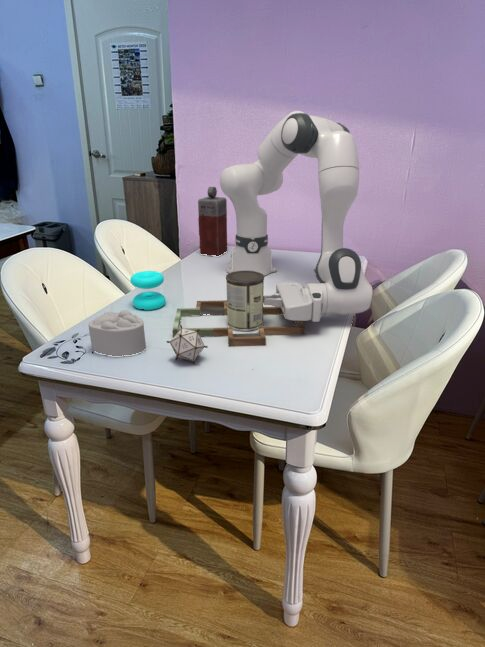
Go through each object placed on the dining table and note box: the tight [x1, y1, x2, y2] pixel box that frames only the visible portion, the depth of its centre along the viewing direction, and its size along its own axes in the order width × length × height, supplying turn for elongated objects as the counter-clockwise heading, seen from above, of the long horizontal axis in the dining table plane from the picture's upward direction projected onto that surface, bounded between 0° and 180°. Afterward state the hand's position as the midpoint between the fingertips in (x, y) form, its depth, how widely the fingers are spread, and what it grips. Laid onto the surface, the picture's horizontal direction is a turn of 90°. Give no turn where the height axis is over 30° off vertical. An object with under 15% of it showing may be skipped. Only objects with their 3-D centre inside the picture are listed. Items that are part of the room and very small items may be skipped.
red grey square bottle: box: [197, 186, 228, 256], centre depth 191 cm, size 9×11×28 cm
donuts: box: [129, 270, 167, 311], centre depth 138 cm, size 10×10×10 cm
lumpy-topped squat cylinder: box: [88, 309, 147, 356], centre depth 112 cm, size 10×13×9 cm
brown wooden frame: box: [172, 299, 306, 347], centre depth 126 cm, size 27×35×2 cm
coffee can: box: [225, 271, 265, 332], centre depth 124 cm, size 10×10×14 cm
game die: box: [165, 324, 209, 365], centre depth 106 cm, size 9×8×10 cm
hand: (263, 300), depth 124 cm, fingers closed, pressing on coffee can
